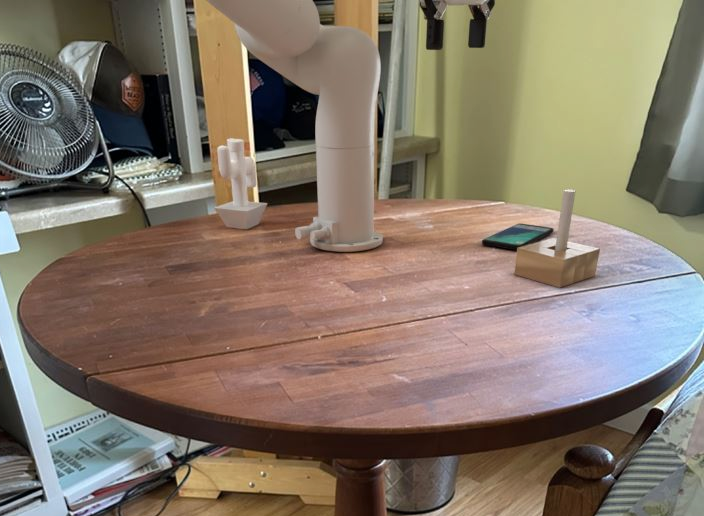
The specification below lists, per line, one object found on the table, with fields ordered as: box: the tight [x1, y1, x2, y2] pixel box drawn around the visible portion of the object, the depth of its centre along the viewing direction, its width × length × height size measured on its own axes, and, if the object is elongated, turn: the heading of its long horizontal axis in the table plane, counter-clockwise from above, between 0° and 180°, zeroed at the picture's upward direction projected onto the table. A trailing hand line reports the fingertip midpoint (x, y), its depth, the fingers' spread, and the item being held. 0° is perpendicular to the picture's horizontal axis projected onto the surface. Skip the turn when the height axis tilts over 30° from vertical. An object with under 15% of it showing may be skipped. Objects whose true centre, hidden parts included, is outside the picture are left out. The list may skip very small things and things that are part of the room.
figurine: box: [213, 137, 268, 230], centre depth 129 cm, size 7×9×15 cm
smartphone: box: [481, 223, 555, 251], centre depth 122 cm, size 7×1×15 cm
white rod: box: [555, 188, 576, 252], centre depth 101 cm, size 2×2×12 cm
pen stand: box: [514, 237, 601, 289], centre depth 104 cm, size 8×8×4 cm
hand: (455, 48), depth 114 cm, fingers open, 9 cm apart
